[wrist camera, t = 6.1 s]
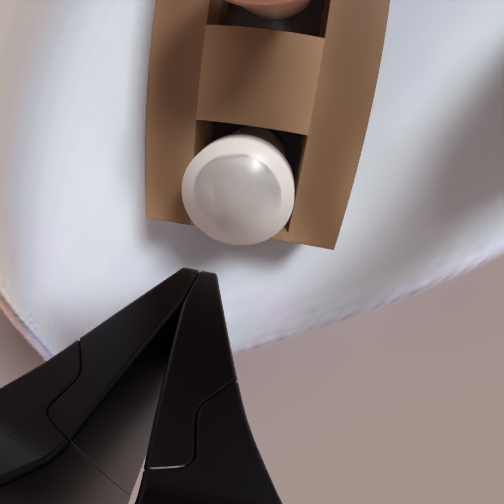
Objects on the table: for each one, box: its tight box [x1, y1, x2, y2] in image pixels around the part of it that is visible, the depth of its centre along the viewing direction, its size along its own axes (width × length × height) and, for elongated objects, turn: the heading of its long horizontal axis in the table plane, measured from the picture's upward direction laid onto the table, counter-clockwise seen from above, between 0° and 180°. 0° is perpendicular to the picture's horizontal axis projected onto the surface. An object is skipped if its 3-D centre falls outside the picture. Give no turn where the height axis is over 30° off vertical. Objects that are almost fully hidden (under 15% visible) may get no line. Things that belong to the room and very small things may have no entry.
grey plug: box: [182, 126, 294, 246], centre depth 15 cm, size 5×5×6 cm
